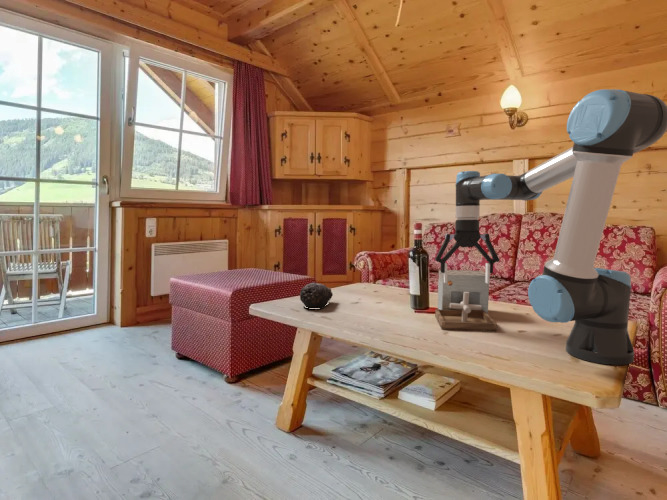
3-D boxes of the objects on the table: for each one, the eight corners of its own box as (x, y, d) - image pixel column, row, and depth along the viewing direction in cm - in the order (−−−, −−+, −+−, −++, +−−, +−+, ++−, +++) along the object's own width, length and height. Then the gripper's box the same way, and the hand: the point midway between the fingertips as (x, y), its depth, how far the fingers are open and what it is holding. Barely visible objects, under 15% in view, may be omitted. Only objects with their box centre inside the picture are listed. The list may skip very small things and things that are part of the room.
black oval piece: (335, 302, 171) (335, 278, 171) (321, 312, 155) (321, 285, 154) (312, 300, 175) (312, 277, 174) (295, 310, 158) (295, 284, 157)
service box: (488, 317, 147) (489, 275, 145) (442, 316, 149) (443, 274, 147) (479, 308, 160) (481, 270, 158) (437, 307, 162) (438, 269, 160)
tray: (496, 331, 130) (497, 323, 129) (441, 329, 132) (441, 321, 132) (484, 317, 147) (484, 310, 146) (435, 316, 149) (435, 309, 148)
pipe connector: (482, 326, 133) (485, 296, 133) (451, 324, 135) (453, 294, 134) (476, 318, 143) (478, 290, 142) (447, 316, 145) (449, 288, 144)
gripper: (503, 218, 138) (502, 281, 140) (427, 219, 141) (426, 280, 143) (510, 218, 131) (508, 285, 132) (429, 219, 134) (429, 284, 135)
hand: (466, 283), depth 137 cm, fingers open, 13 cm apart
